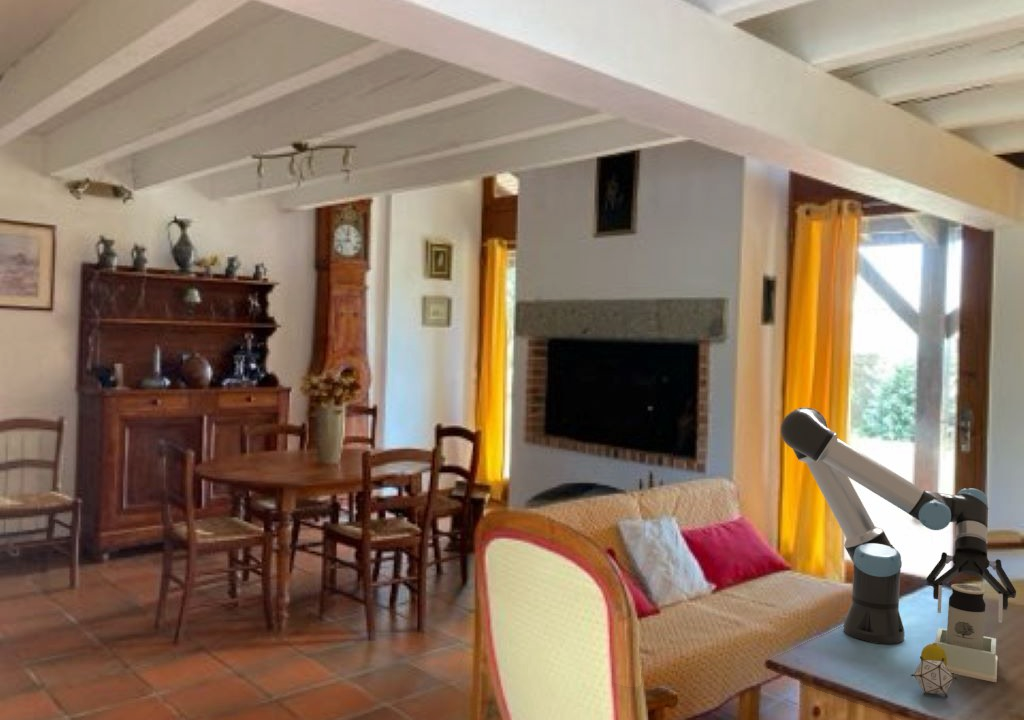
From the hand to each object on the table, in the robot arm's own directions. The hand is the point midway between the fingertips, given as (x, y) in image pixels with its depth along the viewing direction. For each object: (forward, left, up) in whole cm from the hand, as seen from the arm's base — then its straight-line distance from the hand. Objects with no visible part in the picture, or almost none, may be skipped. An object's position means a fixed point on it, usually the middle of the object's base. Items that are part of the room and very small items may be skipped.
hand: (969, 615), depth 212 cm
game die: (-22, -21, -11) cm, 32 cm away
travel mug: (-3, -3, -10) cm, 11 cm away
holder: (-3, -3, -11) cm, 12 cm away
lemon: (-16, -11, -11) cm, 22 cm away
